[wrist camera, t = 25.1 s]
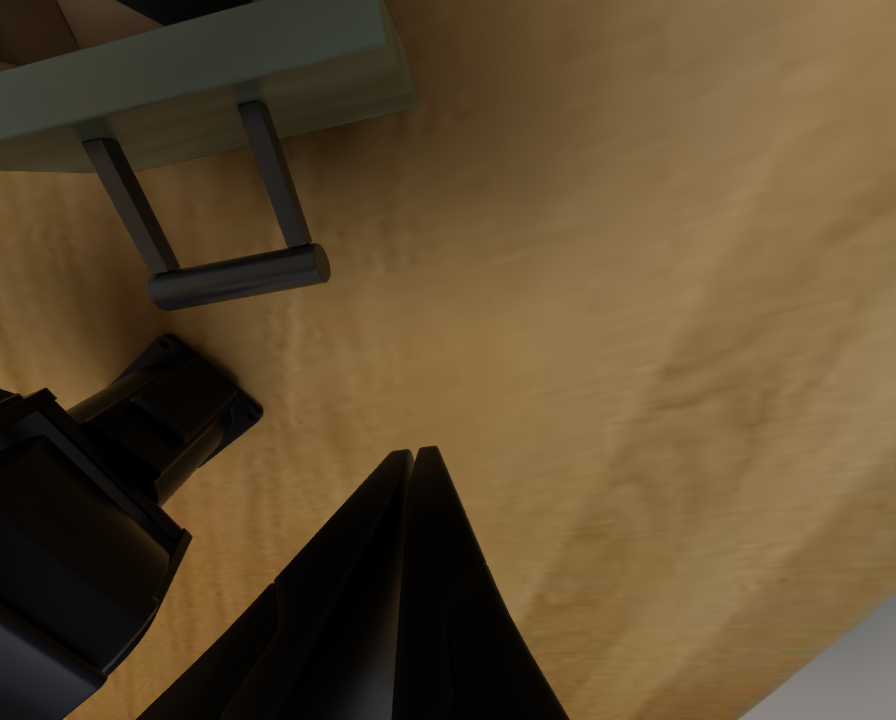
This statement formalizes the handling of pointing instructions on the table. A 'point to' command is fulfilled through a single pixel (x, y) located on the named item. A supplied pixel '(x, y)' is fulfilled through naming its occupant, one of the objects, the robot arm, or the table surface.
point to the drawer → (194, 110)
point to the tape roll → (179, 8)
